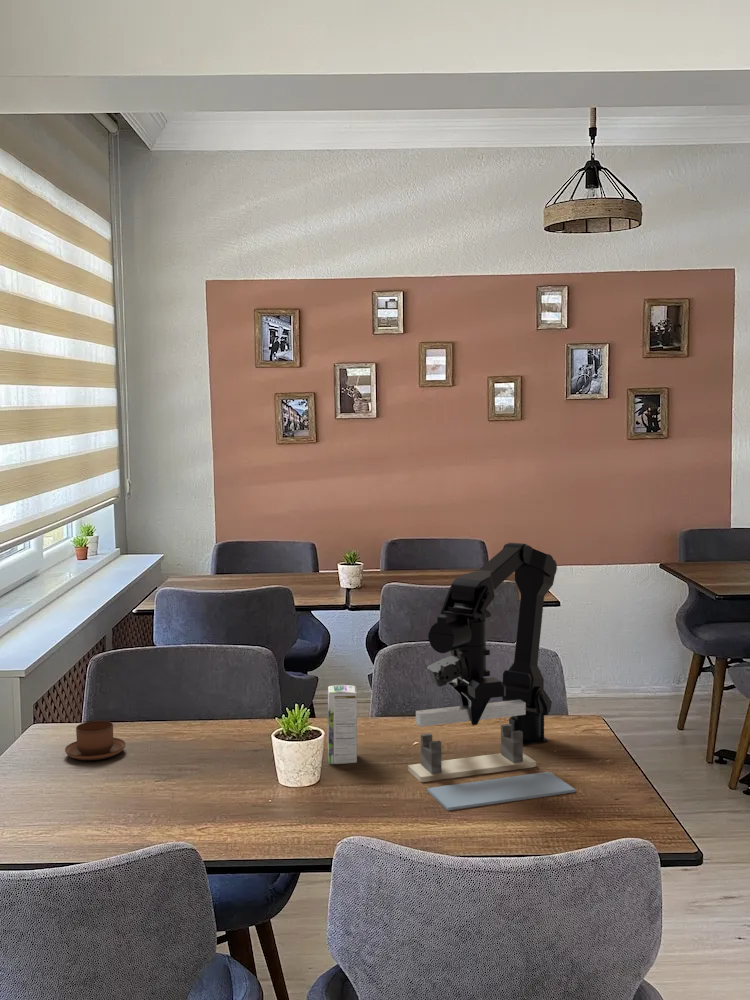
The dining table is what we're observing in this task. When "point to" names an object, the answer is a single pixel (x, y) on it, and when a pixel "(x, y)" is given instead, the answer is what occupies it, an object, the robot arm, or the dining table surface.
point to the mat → (499, 790)
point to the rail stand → (471, 759)
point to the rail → (463, 713)
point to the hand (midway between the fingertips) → (471, 722)
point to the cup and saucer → (95, 741)
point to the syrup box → (342, 724)
